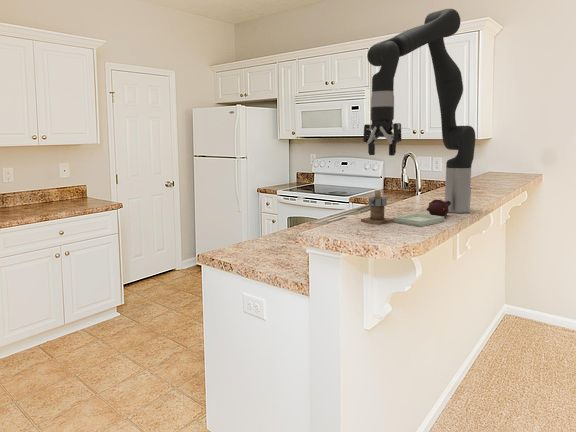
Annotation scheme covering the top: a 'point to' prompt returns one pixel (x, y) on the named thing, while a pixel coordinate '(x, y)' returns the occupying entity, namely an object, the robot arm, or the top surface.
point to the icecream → (438, 207)
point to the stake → (377, 213)
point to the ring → (377, 201)
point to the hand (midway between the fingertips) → (381, 155)
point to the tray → (418, 219)
